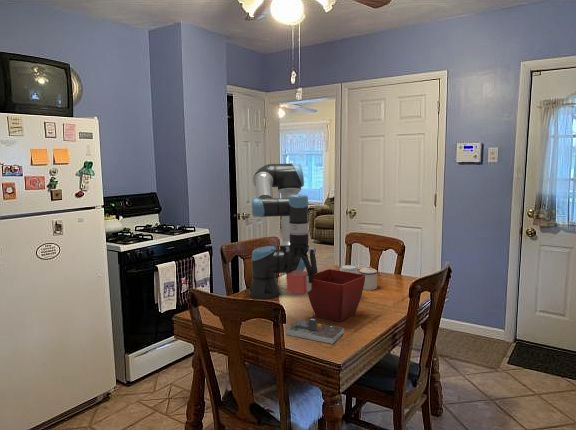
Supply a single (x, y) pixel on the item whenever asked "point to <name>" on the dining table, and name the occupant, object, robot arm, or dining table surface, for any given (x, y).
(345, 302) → the plant pot
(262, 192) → the robot arm
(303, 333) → the breaker panel
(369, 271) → the teacup with lid
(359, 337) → the dining table surface
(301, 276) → the red cube
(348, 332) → the dining table surface
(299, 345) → the dining table surface
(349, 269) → the supplement can
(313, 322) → the breaker toggle
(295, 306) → the dining table surface
